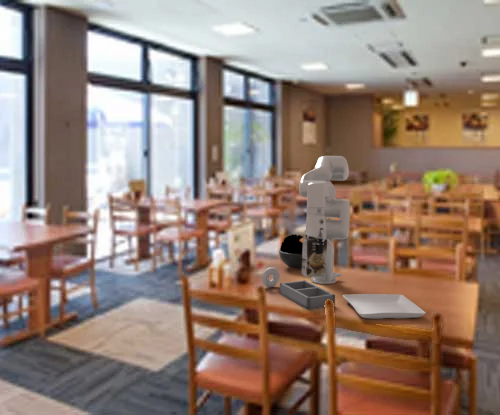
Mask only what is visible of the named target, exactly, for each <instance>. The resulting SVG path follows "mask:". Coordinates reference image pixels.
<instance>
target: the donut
mask: <svg viewBox="0 0 500 415" xmlns="http://www.w3.org/2000/svg"><path fill="white" fill-rule="evenodd" d="M271 275H272V278H271V280H270V279H269V278H270V276H271ZM279 281H280V272H279V270H278V269H277V268H276V267H272V266H270V267H267V268H266V269H264V271H263V272H262V274H261V282H262V285H263V286H264V287H266V288H273V287H276V286H277V284H278V283H279Z"/></svg>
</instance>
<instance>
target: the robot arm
mask: <svg viewBox="0 0 500 415" xmlns="http://www.w3.org/2000/svg"><path fill="white" fill-rule="evenodd" d="M349 175H350V168H349V164H348V160H347V159H346V157H344V156H342V155H322V156H320V157H318V159H317V161H316V163H315V166H314V168H313V169H312V170H310V171H308V172H306V173H304V174H303V175H302V177H301V179H300V181H299V185H298V186H299V187H298V192H299V195H300V197H303V198H306V220H305V229H304V235H305V238H316V242H317V245H316V254H323V245H324V242H325V239H327V260H326V276H319V277H310V280H311V283H313V284H318V285H331V284H335V283H336V282H337V278H340V277H342V273H341V272H334V263H335V262H334V259H335V258H334V257H335V253H334V252H335V247H334V245H333V243H332V241H331V240H347V239H348V237H349V235H350V219H351V218H350V217H351V216H350V215H351V208H350V207H351V206H350V202H349V201H348V200H347V199H342V198H337V197H336V192H337V190H336V187H335V186H334V184H333V183H332V182H331V181H346V180H348V178H349ZM326 218H334V219H326ZM335 219H336V220H335ZM337 219H339V220H337ZM318 239H320V241H319V240H318Z"/></svg>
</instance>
